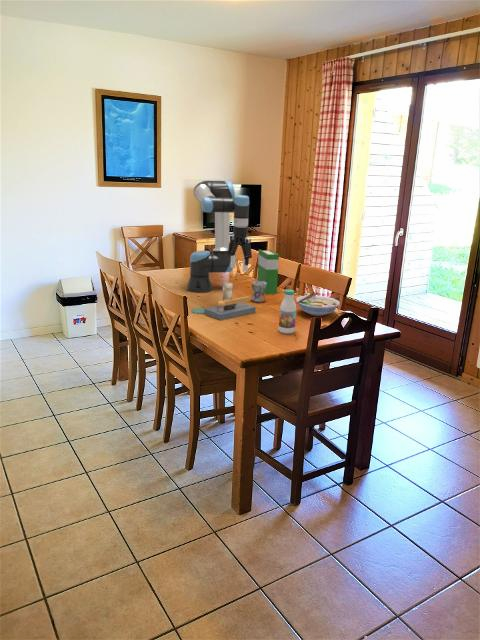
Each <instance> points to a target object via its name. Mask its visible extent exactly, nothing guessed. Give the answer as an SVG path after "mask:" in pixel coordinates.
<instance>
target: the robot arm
mask: <svg viewBox="0 0 480 640" xmlns="http://www.w3.org/2000/svg"><path fill="white" fill-rule="evenodd" d="M233 184H234V183H232V182H231V181H229V180H228V181H227V180H203V181H200V182H199V183H197V184H196V185H195V187H194V188H193V196H194V198H195V199H196V201H199V202H201V204H200V205H201V211H202V212H203V213H214V248H213V249H212V253H211V252H210V251H209V250H197V251H194V252H192V253H191V254H190V257H189V258H190V259H189V264H190V265H189V279H188V282H187V285H186V290H187V291H188V292H192V293H208V292H211V291H212V290H213V286H212V282H211V279H210V273H211V274H212V273H213V274H214V273H219V274H220V273H221V274H222V273H224V274H225V273H230V272H231V273H232V271H233V269H235V268H236V258H237V257H236V252H237V250H238V247H239V245H240V247H241V250H242V251H241V252H242V255H243V259H242V262H243V263H242V272H243V273H245V272H248V271H249V268H248V267H249V264H250V259H252V258H253V256H252V246H251V241H252V239H251V238H248V237H247V235H248V233H249V231H248V230H249V227H248V226H249V214H250V213H249V212H250V211H249V208H250V197H249V196H248V195H239V194H237V195H236V192H235V186H234V185H233ZM231 213H232V214H233V223H232V224H233V228H232V234H233V235H230V214H231Z"/></svg>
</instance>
